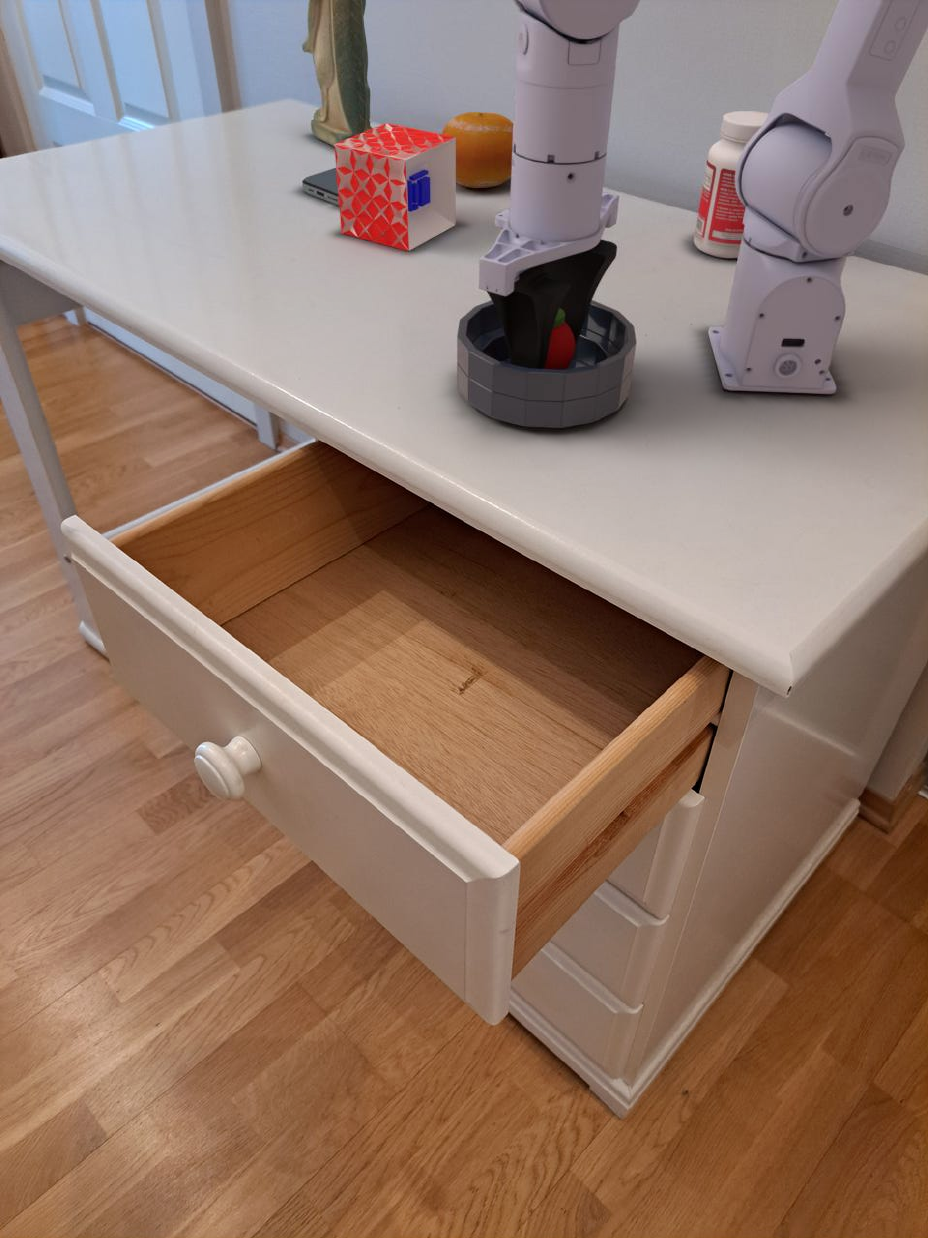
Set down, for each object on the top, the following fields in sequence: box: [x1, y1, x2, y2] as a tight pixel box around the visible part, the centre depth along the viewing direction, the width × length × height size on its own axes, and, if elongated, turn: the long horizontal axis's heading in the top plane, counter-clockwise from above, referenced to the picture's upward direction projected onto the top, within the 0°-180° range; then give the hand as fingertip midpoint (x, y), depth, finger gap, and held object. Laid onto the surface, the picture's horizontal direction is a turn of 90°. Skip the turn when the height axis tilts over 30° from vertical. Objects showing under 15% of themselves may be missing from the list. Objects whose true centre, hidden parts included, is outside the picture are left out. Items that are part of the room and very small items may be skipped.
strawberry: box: [544, 308, 575, 370], centre depth 64 cm, size 4×4×5 cm
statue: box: [301, 0, 374, 148], centre depth 102 cm, size 7×8×25 cm
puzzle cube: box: [334, 123, 457, 252], centre depth 87 cm, size 8×8×8 cm
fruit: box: [441, 111, 513, 189], centre depth 97 cm, size 8×8×8 cm
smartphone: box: [301, 167, 339, 207], centre depth 98 cm, size 8×2×15 cm
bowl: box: [456, 299, 637, 429], centre depth 65 cm, size 12×12×4 cm
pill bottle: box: [693, 110, 769, 259], centre depth 83 cm, size 6×6×11 cm
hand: (544, 357), depth 65 cm, fingers closed on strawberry, 4 cm apart
